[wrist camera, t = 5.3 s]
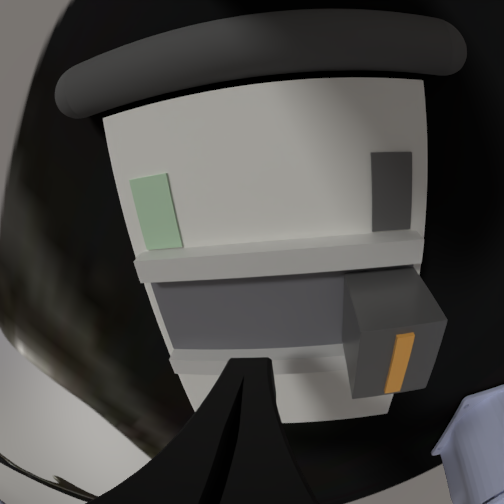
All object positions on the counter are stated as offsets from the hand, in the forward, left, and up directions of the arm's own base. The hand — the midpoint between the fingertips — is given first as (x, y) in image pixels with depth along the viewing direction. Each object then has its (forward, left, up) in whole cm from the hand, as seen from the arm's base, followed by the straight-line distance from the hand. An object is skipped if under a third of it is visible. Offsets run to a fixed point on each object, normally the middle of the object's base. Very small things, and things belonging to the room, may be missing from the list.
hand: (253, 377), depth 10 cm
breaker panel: (0, -1, -5) cm, 5 cm away
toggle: (0, -5, -3) cm, 6 cm away
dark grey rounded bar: (+11, -1, -5) cm, 12 cm away
